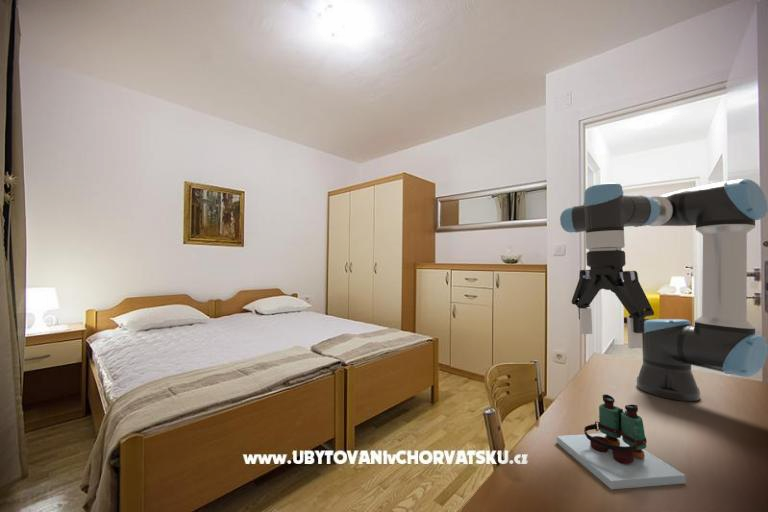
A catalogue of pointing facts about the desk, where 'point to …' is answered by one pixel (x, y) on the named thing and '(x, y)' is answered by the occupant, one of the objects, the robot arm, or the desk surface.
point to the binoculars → (618, 431)
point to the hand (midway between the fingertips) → (608, 340)
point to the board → (620, 465)
